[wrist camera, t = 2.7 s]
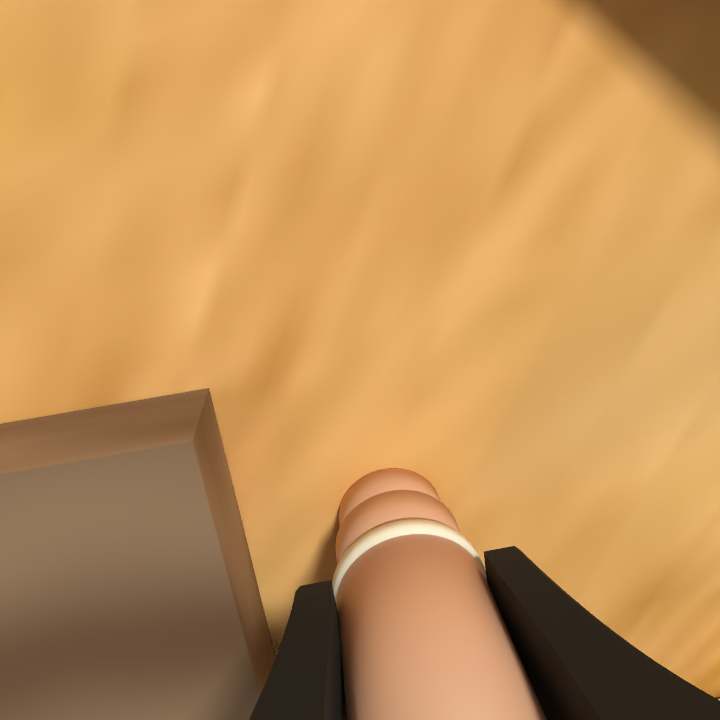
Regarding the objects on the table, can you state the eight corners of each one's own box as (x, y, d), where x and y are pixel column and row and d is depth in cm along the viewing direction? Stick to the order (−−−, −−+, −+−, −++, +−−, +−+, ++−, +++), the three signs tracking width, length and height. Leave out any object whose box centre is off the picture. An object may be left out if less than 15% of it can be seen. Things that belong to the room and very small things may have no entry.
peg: (458, 554, 16) (606, 925, 9) (336, 577, 16) (377, 977, 8) (446, 446, 15) (604, 764, 7) (315, 469, 15) (340, 817, 7)
